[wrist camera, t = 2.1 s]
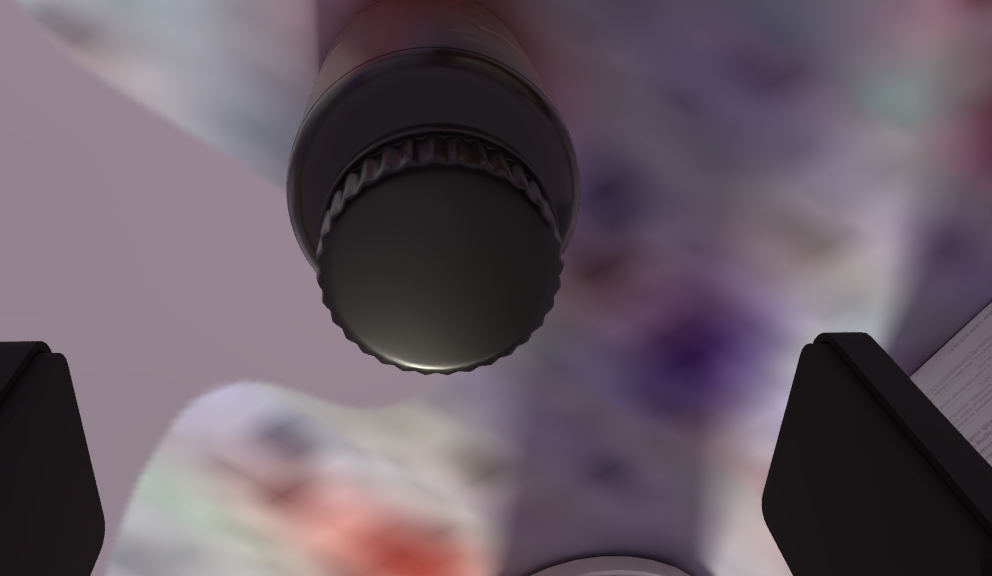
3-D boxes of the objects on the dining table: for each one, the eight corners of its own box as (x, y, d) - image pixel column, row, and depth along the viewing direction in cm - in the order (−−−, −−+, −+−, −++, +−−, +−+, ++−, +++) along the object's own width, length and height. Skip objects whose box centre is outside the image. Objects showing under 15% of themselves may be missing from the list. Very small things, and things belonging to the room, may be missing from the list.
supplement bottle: (278, 40, 25) (185, 179, 14) (488, -50, 24) (551, 28, 14) (375, 231, 28) (357, 459, 18) (563, 156, 28) (660, 346, 17)
